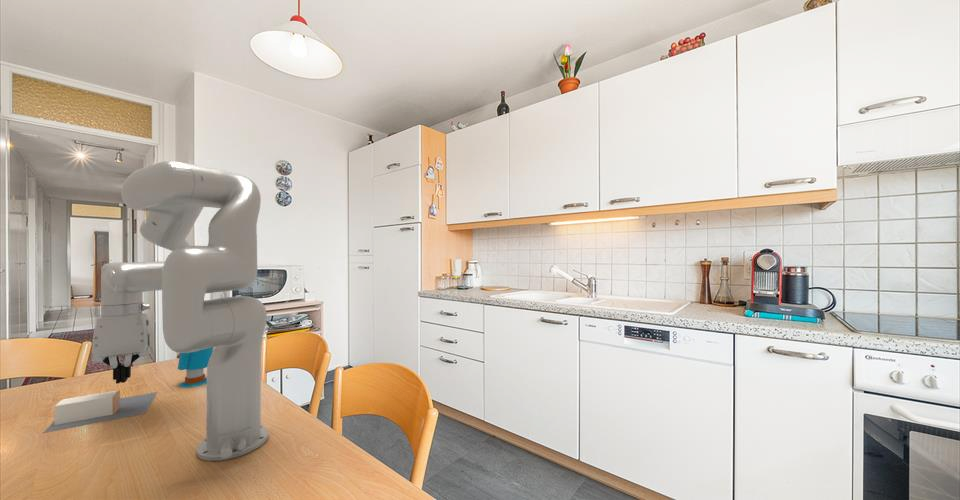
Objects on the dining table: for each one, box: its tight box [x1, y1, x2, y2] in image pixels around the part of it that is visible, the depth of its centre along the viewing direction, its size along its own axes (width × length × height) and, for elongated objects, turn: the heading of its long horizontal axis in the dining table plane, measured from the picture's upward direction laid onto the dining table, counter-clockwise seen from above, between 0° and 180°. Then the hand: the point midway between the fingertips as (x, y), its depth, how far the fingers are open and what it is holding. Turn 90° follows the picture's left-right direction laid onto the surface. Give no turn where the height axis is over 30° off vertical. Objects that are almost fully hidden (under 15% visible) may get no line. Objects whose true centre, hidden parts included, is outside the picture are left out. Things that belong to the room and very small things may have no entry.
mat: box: [42, 391, 158, 434], centre depth 90 cm, size 16×17×1 cm
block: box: [53, 389, 121, 425], centre depth 87 cm, size 4×4×10 cm
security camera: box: [176, 347, 214, 388], centre depth 109 cm, size 8×21×10 cm
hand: (121, 381), depth 90 cm, fingers closed
